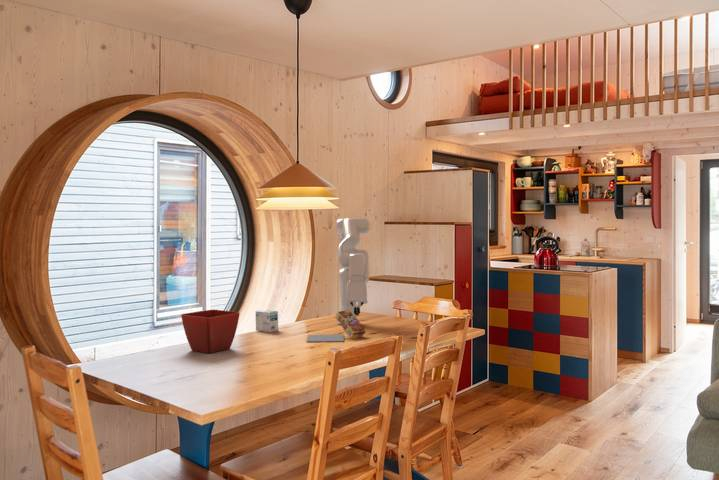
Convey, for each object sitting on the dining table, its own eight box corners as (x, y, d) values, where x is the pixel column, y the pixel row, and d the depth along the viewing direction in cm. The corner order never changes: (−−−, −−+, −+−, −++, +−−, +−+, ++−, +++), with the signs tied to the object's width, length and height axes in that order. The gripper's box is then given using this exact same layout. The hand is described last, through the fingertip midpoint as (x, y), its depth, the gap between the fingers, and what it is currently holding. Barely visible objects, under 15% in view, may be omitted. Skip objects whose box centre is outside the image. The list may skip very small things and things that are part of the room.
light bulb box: (278, 330, 316) (278, 310, 316) (270, 332, 310) (270, 312, 310) (263, 328, 322) (263, 309, 321) (255, 330, 316) (254, 310, 316)
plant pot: (213, 343, 284) (212, 308, 283) (241, 348, 273) (240, 312, 272) (180, 351, 268) (179, 314, 268) (208, 356, 257) (208, 318, 257)
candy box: (353, 332, 290) (337, 311, 299) (350, 339, 292) (334, 317, 301) (366, 330, 296) (350, 309, 305) (363, 336, 298) (347, 315, 307)
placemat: (308, 335, 301) (308, 334, 301) (343, 335, 302) (343, 334, 302) (306, 342, 285) (306, 341, 285) (343, 341, 286) (343, 340, 286)
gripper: (371, 277, 297) (371, 313, 297) (341, 278, 296) (341, 314, 297) (372, 279, 289) (372, 316, 290) (341, 279, 289) (342, 316, 289)
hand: (356, 315), depth 293 cm, fingers closed
